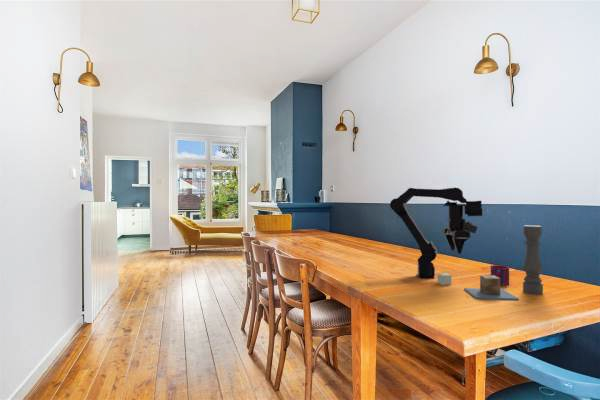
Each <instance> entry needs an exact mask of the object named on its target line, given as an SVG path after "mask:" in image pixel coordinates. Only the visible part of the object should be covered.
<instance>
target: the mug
mask: <svg viewBox="0 0 600 400" xmlns="http://www.w3.org/2000/svg"><path fill="white" fill-rule="evenodd" d="M490 275H494V276H496V277H498V278H500V286H509V285H510V267H509V266H506V265H499V264H498V265H497V264H496V265H495V264H494V265H490Z"/></svg>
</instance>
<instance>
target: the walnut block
mask: <svg viewBox="0 0 600 400" xmlns="http://www.w3.org/2000/svg"><path fill="white" fill-rule="evenodd" d="M479 279H480V280H479V287H480V288H479V289H480V291H481V292H482V293H484V294H485V295H500V289H501V285H500V278H498V277H496V276H494V275H491V274H490V275H489V274H488V275H487V274H486V275H485V274H484V275H483V274H480V275H479Z"/></svg>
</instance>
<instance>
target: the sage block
mask: <svg viewBox="0 0 600 400" xmlns="http://www.w3.org/2000/svg"><path fill="white" fill-rule="evenodd" d="M437 284H439V285H442V286H451V285H452V275H451V274H449V273H447V272H444V273H442V272H441V273H439V272H438V273H437Z"/></svg>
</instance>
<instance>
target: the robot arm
mask: <svg viewBox="0 0 600 400" xmlns="http://www.w3.org/2000/svg"><path fill="white" fill-rule="evenodd" d="M463 192H464V191H463V190H462V189H461V188H459V187H449V188H441V189H440V188H439V189H436V188H435V189H433V188H414V187H408V188H407V190H406V191H404V192H403V193H401V195H400V196H398V197H397V198H393V199H391V201H390V203H389V207H390V208H391V210H392V211H393V212H394V213H395V214H396V215H397V216H398V217H400V219H401V220H402V222H403V223H404V225H405V226H406V228H407V229H408V230H409V232H410V234H411V236H413V238H414V240H415V241H416V243H417V245H418V248H419V250H420V254H421V255H420V256H419V257H418V258H417V273H416V276H417V277H418V278H419V279H421V278H422V279H423V278H424V279H435V278H436V277H435V275H436V274H435V271H436V268H435V266H434V263H433V261H434V260H436V258H437V256H438V250H437V249H438V248H437V247H436V246H435V244H434V242H433V241H432V240H430V242H429V240H427V239H426V237H425V236H424V234H423V233H422V231H421V230H420V228H419V227H418V225H417V224H416V222H415V220H414V219H413V217H412V216H411V214H410V213H409V210H408V206H407V205H406V204H407V203H408V202H409V201H410V200H411V199H413V197H421V198H423V197H424V198H426V197H427V198H439V199H444V200H447V201H446V202H445V203H444V204H443V206H444V207H448V217H447V218H446V219H447V222H448V226H447V227H446V226H445V227H444V228H442V233H443V235H444V237H445V239H446V242H447V244H448V246H449V247H450V250H451V251H455V249H456V252H457V254H458V255H460V254H462V252H463V248H464V246H465V245H464V244H465V242H467V241H468V240H470V238H471V233H473V234H476V233H477V231H478V225H474V224H472V222H469V221H466V219H465V218H464V215H467V217H469V218H470V217H477V218H478V217H481V218H482V217H483V207H482V206H483V204H482V200H472V201H470V200H469V201H468V200H467V199H466V198H465V196H464V194H463ZM450 201H451V202H450ZM458 202H459V203H461V204H458Z"/></svg>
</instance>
